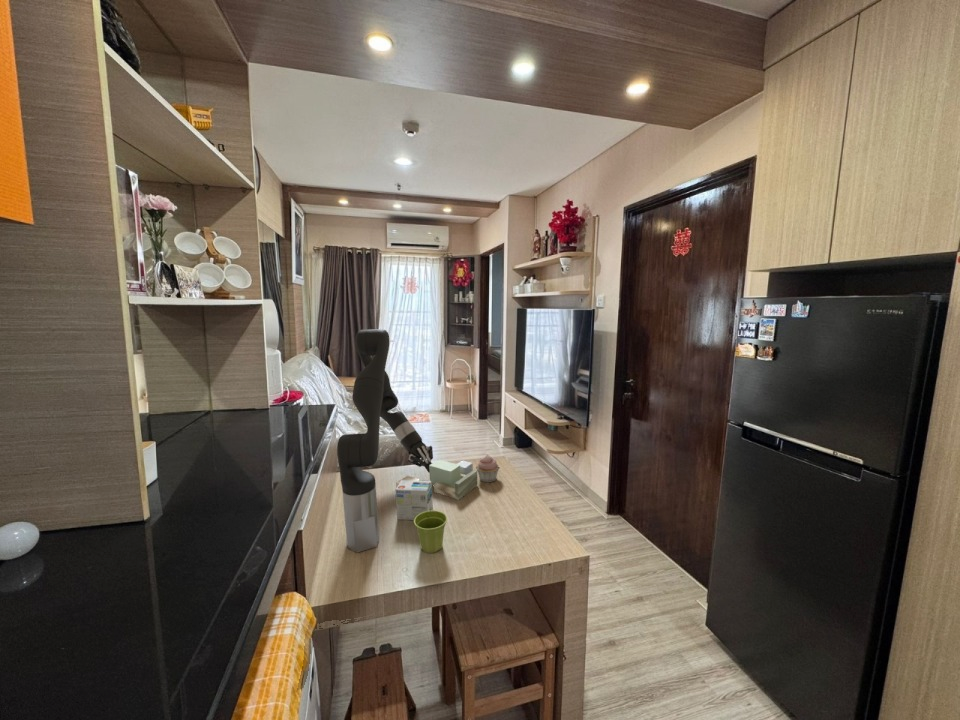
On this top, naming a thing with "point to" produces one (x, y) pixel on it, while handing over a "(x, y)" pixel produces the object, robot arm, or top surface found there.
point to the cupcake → (487, 469)
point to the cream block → (407, 480)
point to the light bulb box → (413, 498)
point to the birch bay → (458, 486)
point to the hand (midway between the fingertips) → (433, 472)
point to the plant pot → (430, 530)
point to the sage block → (444, 473)
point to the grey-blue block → (465, 467)
